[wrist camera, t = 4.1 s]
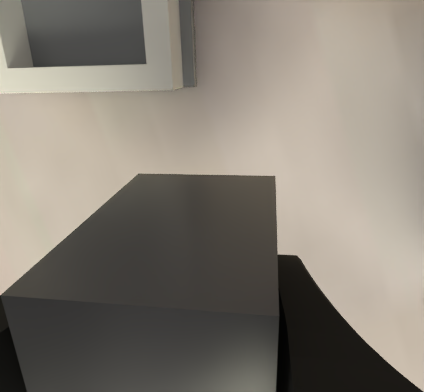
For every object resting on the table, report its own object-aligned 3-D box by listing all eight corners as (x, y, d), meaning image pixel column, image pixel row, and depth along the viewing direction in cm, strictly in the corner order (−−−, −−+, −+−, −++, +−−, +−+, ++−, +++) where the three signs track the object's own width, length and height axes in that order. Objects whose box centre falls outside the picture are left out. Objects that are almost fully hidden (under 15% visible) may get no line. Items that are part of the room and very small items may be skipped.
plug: (275, 176, 10) (279, 316, 5) (269, 359, 13) (267, 597, 7) (138, 173, 11) (0, 295, 5) (156, 349, 13) (73, 560, 8)
